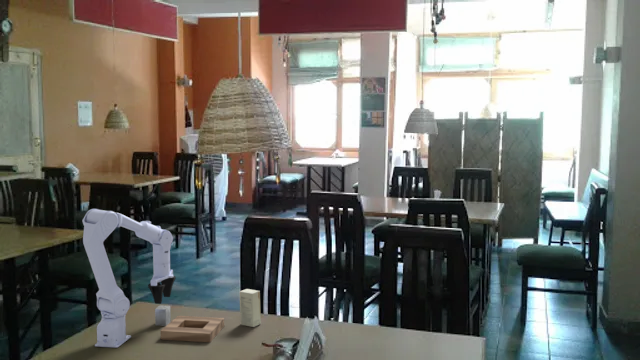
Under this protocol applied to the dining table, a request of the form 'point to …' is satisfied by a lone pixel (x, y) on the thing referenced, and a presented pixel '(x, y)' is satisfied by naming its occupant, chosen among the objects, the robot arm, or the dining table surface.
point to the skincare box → (250, 307)
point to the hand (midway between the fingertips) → (162, 300)
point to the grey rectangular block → (162, 315)
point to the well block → (192, 329)
